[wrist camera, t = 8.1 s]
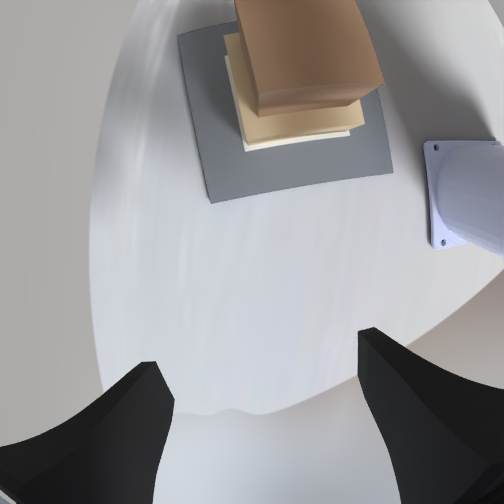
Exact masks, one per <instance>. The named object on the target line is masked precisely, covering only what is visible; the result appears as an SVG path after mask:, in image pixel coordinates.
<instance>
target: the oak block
mask: <svg viewBox="0 0 504 504" xmlns="http://www.w3.org/2000/svg"><path fill="white" fill-rule="evenodd" d="M223 36H224V40H225V44H226V48H227V53H228V57H229V62H230V66H231V70H232V75H233V79H234V84H235V88H236V93H237V97H238V102H239V107H240V111H241V116H242V121H243V125H244V130H245V135H246V139H247V142H248V145H249V146H251V145H256V144H262V143H267V142H273V141H279V140H285V139H291V138H297V137H304V136H311V135H319V134H327V133H336V132H345V131H347V130H350V129H353V128H355V127H358V126H360V125H363V124H365V122H364V117H363V112H362V108H361V104H360V100H359V99H358V100H357V101H355V102H354V103H352V104H350V105H349V106H345V107H333V108H322V109H313V110H305V111H297V112H290V113H284V114H277V115H271V116H265V117H260V118H258V113H257V109H256V104H255V100H254V95H253V91H252V87H251V82H250V78H249V74H248V70H247V65H246V61H245V57H244V53H243V49H242V45H241V41H240V35H239V33H233V34H228V35H223Z"/></svg>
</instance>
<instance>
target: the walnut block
mask: <svg viewBox="0 0 504 504" xmlns="http://www.w3.org/2000/svg"><path fill="white" fill-rule="evenodd" d="M234 3H235V9H236V15H237V22H238V28H239V35H240V41H241V45H242V49H243V53H244V57H245V61H246V65H247V70H248V74H249V78H250V82H251V87H252V91H253V95H254V100H255V104H256V109H257V113H258V118H260V117H265V116H271V115H277V114H284V113H290V112H297V111H305V110H313V109H322V108H333V107H345V106H349V105H350V104H352V103H354V102H355V101H357V100H358V99H360V98H361V97H363V96H364V95H366V94H368V93H369V92H371V91H372V90H374V89H376V88H377V87H379V86H380V85H382V84H384V83H385V82H384V78H383V75H382V71H381V68H380V65H379V62H378V59H377V55H376V52H375V49H374V47H373V44H372V41H371V38H370V35H369V33H368V30H367V27H366V25H365V22H364V20H363V17H362V15H361V13H360V10H359V8H358V6H357V3H356V1H355V0H234Z"/></svg>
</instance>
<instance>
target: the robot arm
mask: <svg viewBox="0 0 504 504" xmlns="http://www.w3.org/2000/svg"><path fill="white" fill-rule="evenodd" d="M434 145H435V146H436V151H435V150H434ZM424 155H425V162H426V169H427V178H428V188H429V200H430V216H431V245H432V248H434V249H435V250H441V249H445V248H449V247H453V246H457V245H460V244H464V243H468V242H471V243H473V244H475V245H477V246H479V247H481V248H483V249H485V250H488V251H490V252H492V253H494V254H496V255H498V256H500V257H502V258H504V146H503V145H502V143H501V142H500V141H474V140H446V141H426V142H425V143H424ZM442 240H443V243H442V244H441V241H442ZM358 378H359V381H360V384H361V387H362V391H363V394H364V397H365V399H366V401H367V404H368V406H369V408H370V410H371V413H372V415H373V417H374V419H375V421H376V423H377V426H378V428H379V430H380V432H381V434H382V437H383V439H384V441H385V444H386V446H387V449H388V452H389V454H390V458H391V461H392V465H393V469H394V472H395V476H396V480H397V484H398V489H399V493H400V499H401V504H504V389H499V388H495V387H491V386H487V385H484V384H480V383H477V382H474V381H471V380H468V379H465V378H463V377H460V376H458V375H456V374H453V373H451V372H449V371H446V370H444V369H442V368H440V367H438V366H436V365H434V364H433V363H431V362H429V361H427V360H425V359H423V358H421V357H420V356H418V355H416V354H415V353H413V352H411V351H410V350H408V349H407V348H405V347H404V346H402V345H401V344H399V343H398V342H396V341H395V340H393V339H392V338H390V337H389V336H387V335H386V334H384V333H383V332H381V331H380V330H378V329H377V328H375V327H372V328H369V329H365V330H361V331H358ZM174 401H175V399H174V397H173V395H172V394H171V392H170V390H169V388H168V386H167V384H166V382H165V380H164V378H163V376H162V374H161V372H160V369H159V367H158V365H157V363H156V361H153V362H141V363H140V364H138V365H137V366H136V367H134V368H133V369H132V370H131V371H130V372H128V373H127V374H126V375H125V376H124V377H122V378H121V379H120V380H119V381H118V382H117V383H116V384H114V385H113V386H112V387H111V388H110V389H109V390H107V391H106V392H105V393H104V394H103V395H101V396H100V397H99V398H98V399H96V400H95V401H94V402H93V403H91V404H90V405H89V406H87V407H86V408H85V409H83V410H82V411H81V412H79V413H78V414H76V415H75V416H73V417H72V418H70V419H68V420H67V421H65V422H64V423H62V424H60V425H58V426H56V427H54V428H53V429H50V430H48V431H46V432H44V433H42V434H40V435H38V436H35V437H33V438H30V439H28V440H25V441H21V442H18V443H15V444H11V445H7V446H2V447H0V490H1V491H2V492H4V493H5V494H6V495H7V496H9V497H10V498H11V499H12V500H14V501H15V502H16V504H152V503H153V493H154V487H155V479H156V474H157V470H158V466H159V462H160V459H161V456H162V453H163V449H164V446H165V443H166V439H167V436H168V432H169V429H170V426H171V422H172V416H173V409H174ZM0 504H9V503H8V502H7V501H6V500H5V499H3V498H2V497H1V496H0Z"/></svg>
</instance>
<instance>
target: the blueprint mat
mask: <svg viewBox="0 0 504 504" xmlns="http://www.w3.org/2000/svg"><path fill="white" fill-rule="evenodd" d="M233 33H239V28H238V22H237V21H235V22H230V23H225V24H220V25H216V26H211V27H207V28H203V29H199V30H195V31H192V32H188V33H185V34H181V35H178V41H179V47H180V53H181V59H182V64H183V70H184V75H185V81H186V86H187V91H188V97H189V102H190V107H191V112H192V117H193V122H194V127H195V132H196V137H197V142H198V147H199V152H200V156H201V161H202V166H203V170H204V175H205V180H206V184H207V189H208V193H209V198H210V202H211V204H213V203H218V202H222V201H227V200H232V199H237V198H241V197H246V196H251V195H257V194H262V193H267V192H272V191H278V190H283V189H289V188H295V187H300V186H306V185H312V184H318V183H325V182H331V181H338V180H345V179H352V178H359V177H366V176H374V175H382V174H390V173H393V166H392V160H391V153H390V147H389V142H388V136H387V131H386V126H385V121H384V117H383V112H382V108H381V104H380V100H379V96H378V92H377V88H376V89H374V90H372V91H371V92H369V93H368V94H366V95H364V96H363V97H361V98H360V99H359V100H360V104H361V108H362V112H363V117H364V122H365V124H363V125H360V126H358V127H355V128H353V129H350V130H347V131H345V132H336V133H327V134H319V135H311V136H304V137H297V138H291V139H285V140H279V141H273V142H267V143H262V144H256V145H251V146H249V145H248V142H247V139H246V135H245V130H244V125H243V121H242V116H241V111H240V107H239V102H238V97H237V93H236V88H235V84H234V79H233V75H232V70H231V66H230V62H229V57H228V53H227V48H226V44H225V40H224V36H223V35H228V34H233Z"/></svg>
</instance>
